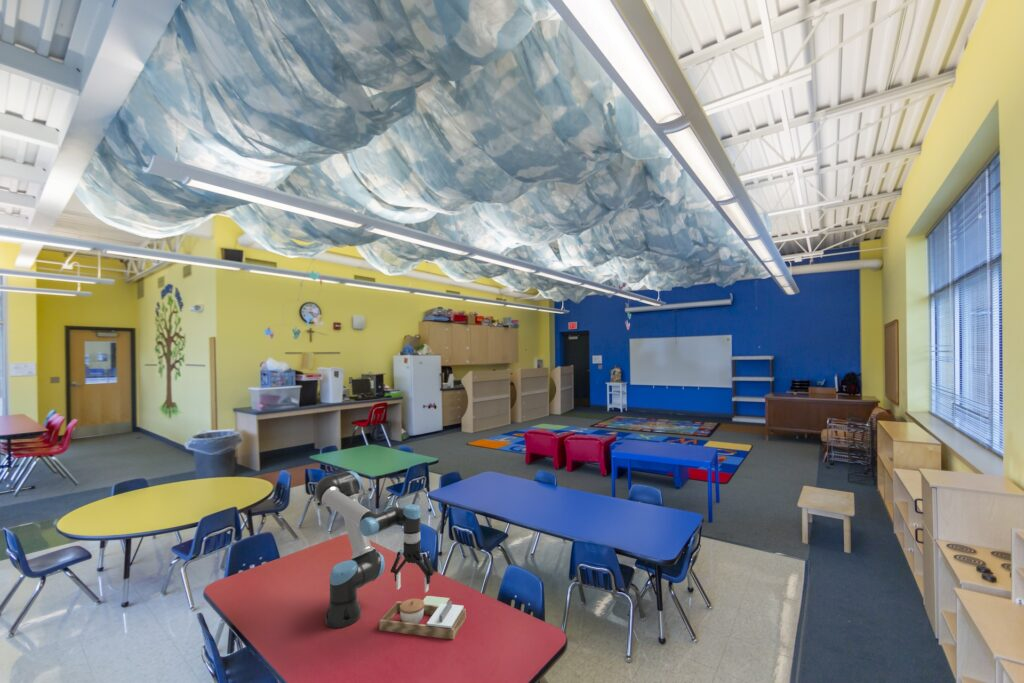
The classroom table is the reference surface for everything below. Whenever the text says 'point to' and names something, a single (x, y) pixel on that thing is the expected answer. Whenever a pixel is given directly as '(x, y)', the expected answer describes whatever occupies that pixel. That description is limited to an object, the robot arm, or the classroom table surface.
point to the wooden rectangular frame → (420, 628)
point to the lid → (445, 615)
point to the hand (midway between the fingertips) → (412, 589)
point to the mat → (435, 600)
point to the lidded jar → (412, 610)
